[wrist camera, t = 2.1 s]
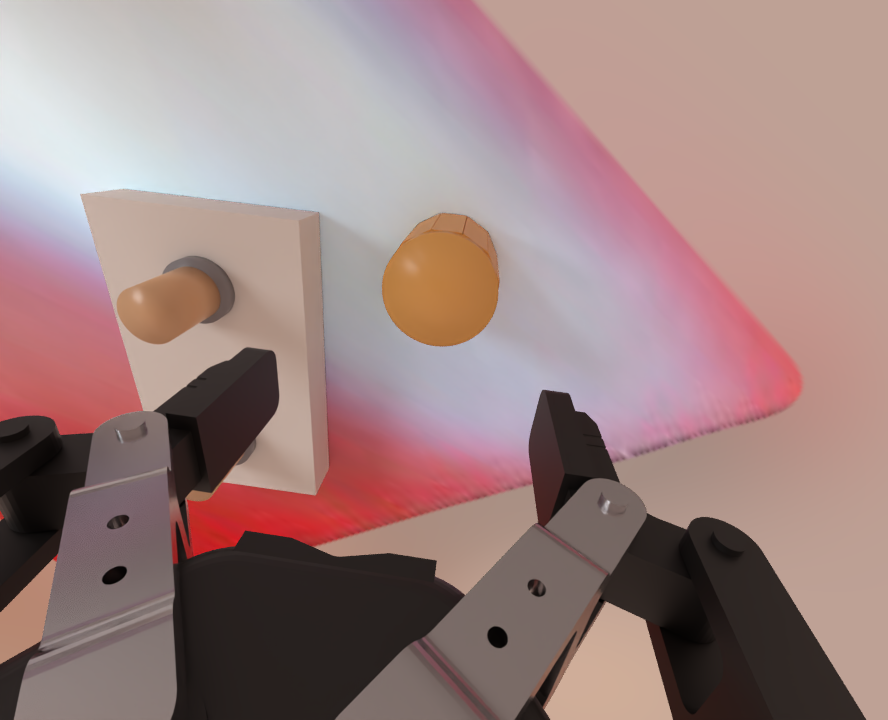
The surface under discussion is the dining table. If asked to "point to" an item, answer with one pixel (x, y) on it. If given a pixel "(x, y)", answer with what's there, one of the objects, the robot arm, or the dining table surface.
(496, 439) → the dining table surface
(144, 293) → the plate with orange knobs
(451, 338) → the cap
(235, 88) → the dining table surface
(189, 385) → the robot arm
